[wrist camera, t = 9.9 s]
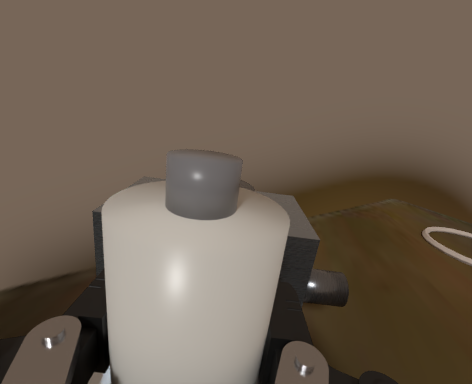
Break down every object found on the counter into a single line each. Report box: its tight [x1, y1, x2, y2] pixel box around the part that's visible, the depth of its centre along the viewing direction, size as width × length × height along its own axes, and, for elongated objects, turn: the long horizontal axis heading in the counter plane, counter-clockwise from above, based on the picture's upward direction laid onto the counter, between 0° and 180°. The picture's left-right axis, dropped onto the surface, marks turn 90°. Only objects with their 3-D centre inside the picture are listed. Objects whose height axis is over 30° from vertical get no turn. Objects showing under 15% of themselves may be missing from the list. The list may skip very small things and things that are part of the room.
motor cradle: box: [88, 177, 349, 384], centre depth 14 cm, size 17×17×14 cm
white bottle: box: [102, 150, 290, 384], centre depth 9 cm, size 5×6×12 cm
